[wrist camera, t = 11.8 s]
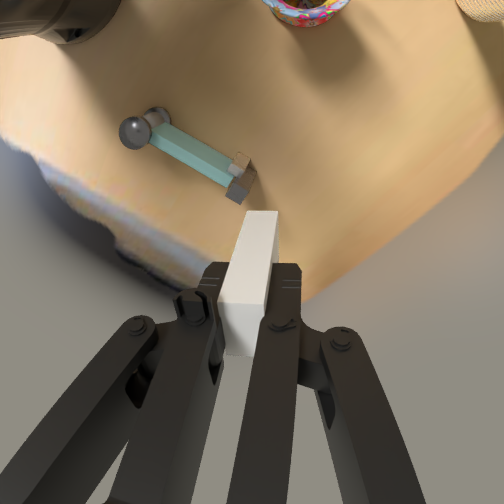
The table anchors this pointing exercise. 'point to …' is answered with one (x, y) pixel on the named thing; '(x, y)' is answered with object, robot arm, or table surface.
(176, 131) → the teal rectangular bar
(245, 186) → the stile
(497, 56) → the table surface
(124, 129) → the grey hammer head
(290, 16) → the mug
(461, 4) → the water bottle
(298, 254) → the table surface
